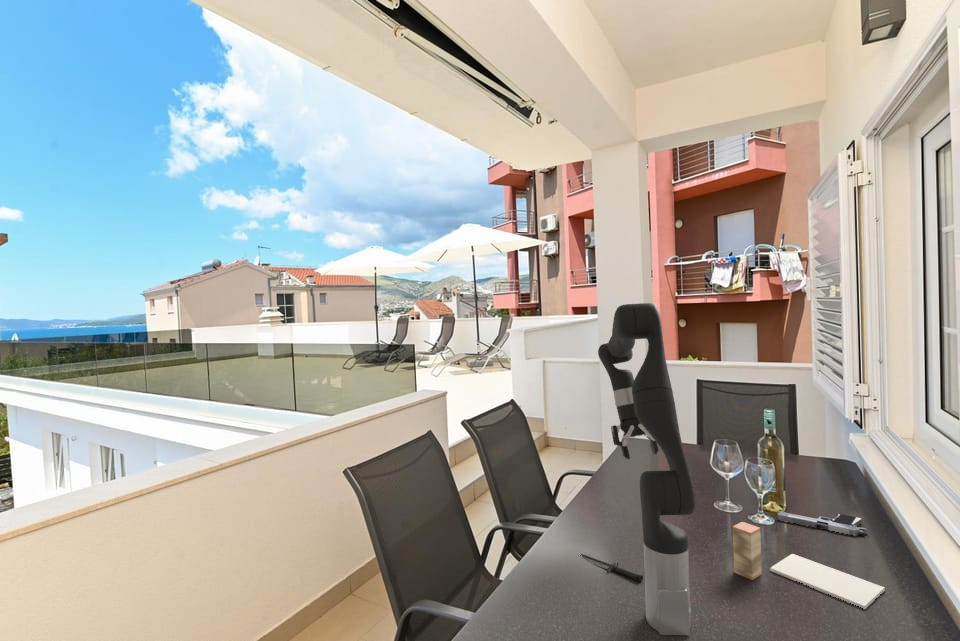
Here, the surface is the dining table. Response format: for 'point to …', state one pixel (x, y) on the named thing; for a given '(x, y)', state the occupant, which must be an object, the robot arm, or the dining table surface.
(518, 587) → the dining table surface
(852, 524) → the handgun
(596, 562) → the knife
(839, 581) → the mat
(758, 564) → the maple block
